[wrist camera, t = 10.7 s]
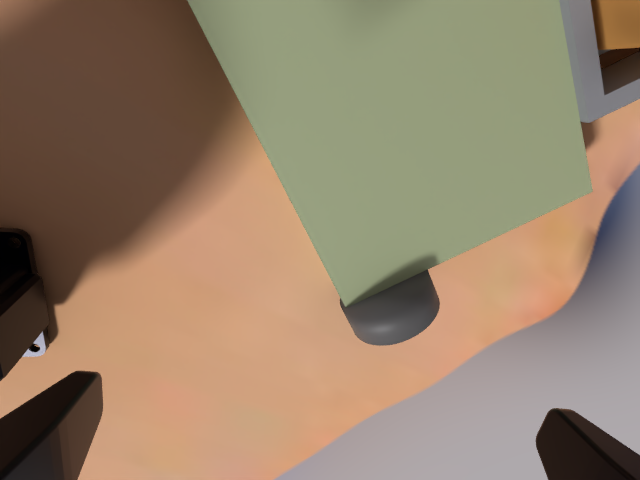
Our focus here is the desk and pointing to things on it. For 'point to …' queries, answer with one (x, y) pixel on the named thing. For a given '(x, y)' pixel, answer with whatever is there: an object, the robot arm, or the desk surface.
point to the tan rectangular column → (616, 24)
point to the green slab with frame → (416, 128)
